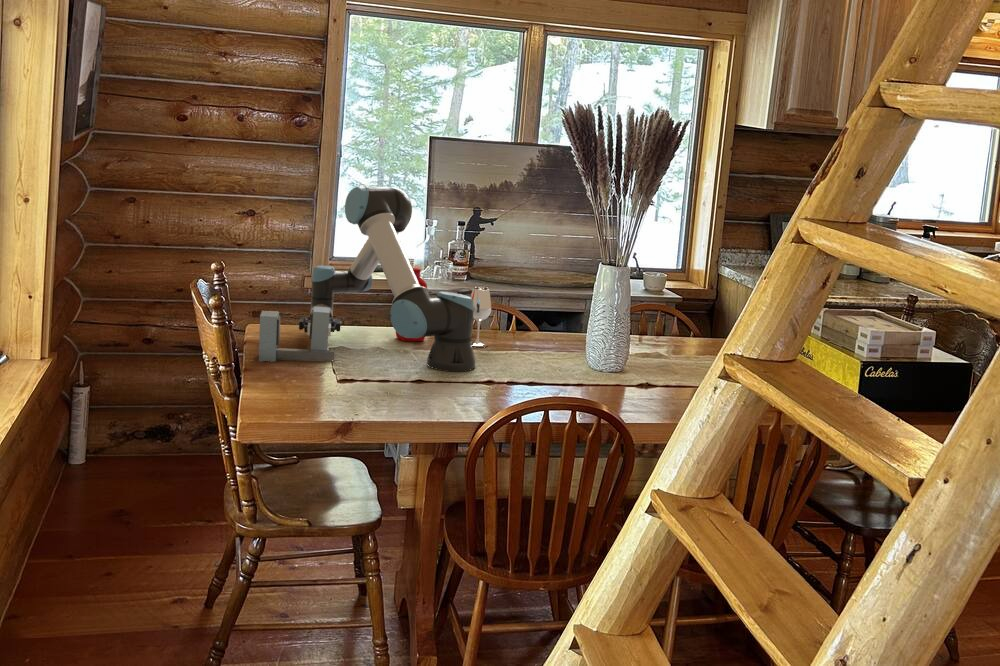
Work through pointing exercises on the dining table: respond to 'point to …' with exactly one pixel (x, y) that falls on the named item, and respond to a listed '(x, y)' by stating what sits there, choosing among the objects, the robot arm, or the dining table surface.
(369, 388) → the dining table surface
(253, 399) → the dining table surface
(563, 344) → the dining table surface
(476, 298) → the wineglass
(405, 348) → the dining table surface
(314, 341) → the tall grey-blue pillar
